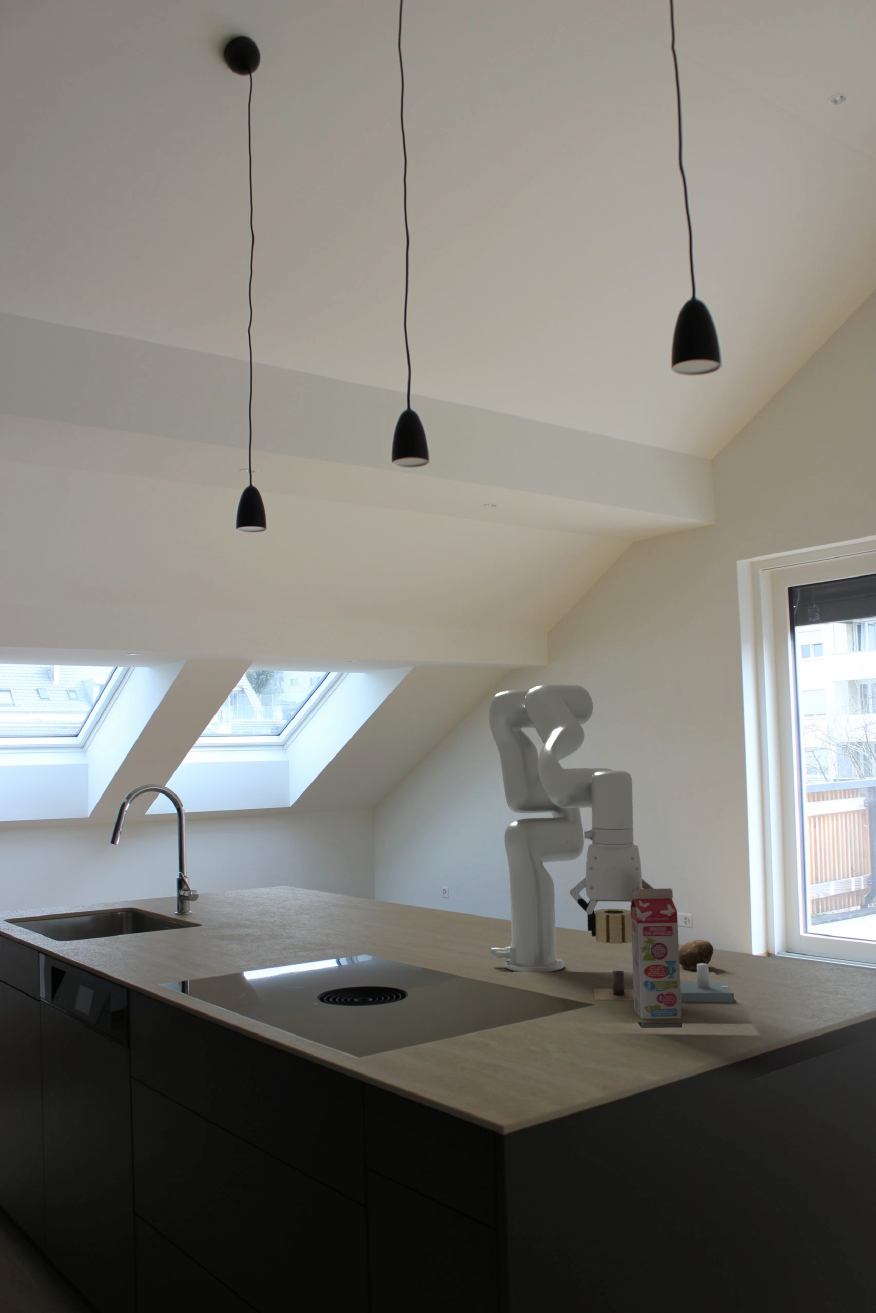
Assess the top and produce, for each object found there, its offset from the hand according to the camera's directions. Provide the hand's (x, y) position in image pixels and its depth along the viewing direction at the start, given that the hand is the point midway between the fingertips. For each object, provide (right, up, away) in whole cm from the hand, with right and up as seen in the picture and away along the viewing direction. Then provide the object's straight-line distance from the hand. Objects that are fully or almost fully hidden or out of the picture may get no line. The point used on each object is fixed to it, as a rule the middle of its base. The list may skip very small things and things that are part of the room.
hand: (614, 934), depth 186 cm
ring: (0, -1, 0) cm, 1 cm away
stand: (0, -12, -2) cm, 12 cm away
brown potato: (+22, -15, +28) cm, 38 cm away
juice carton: (+4, -10, -17) cm, 20 cm away
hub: (+15, -11, -5) cm, 20 cm away
